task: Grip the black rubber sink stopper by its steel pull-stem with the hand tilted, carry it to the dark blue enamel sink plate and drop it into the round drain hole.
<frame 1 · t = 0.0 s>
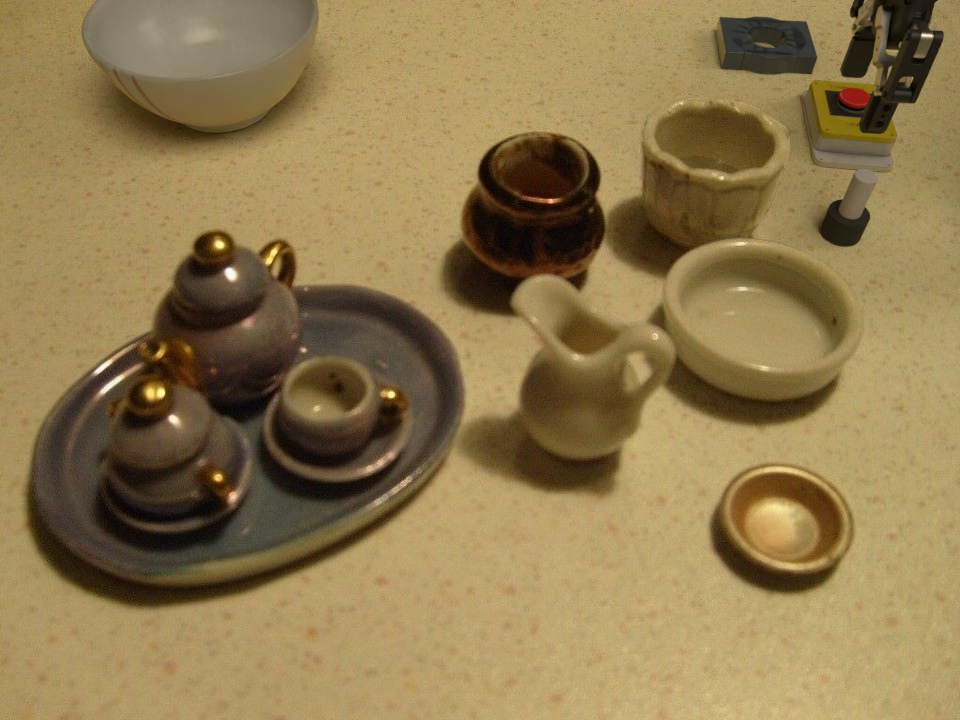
hand: (860, 102, 76), 20 cm above the counter, tool pointing down, fingers open, 8 cm apart
emergency button: (843, 132, 107), on the counter
decorative bowl: (224, 105, 109), on the counter
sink: (762, 53, 118), on the counter
stopper: (840, 233, 95), on the counter
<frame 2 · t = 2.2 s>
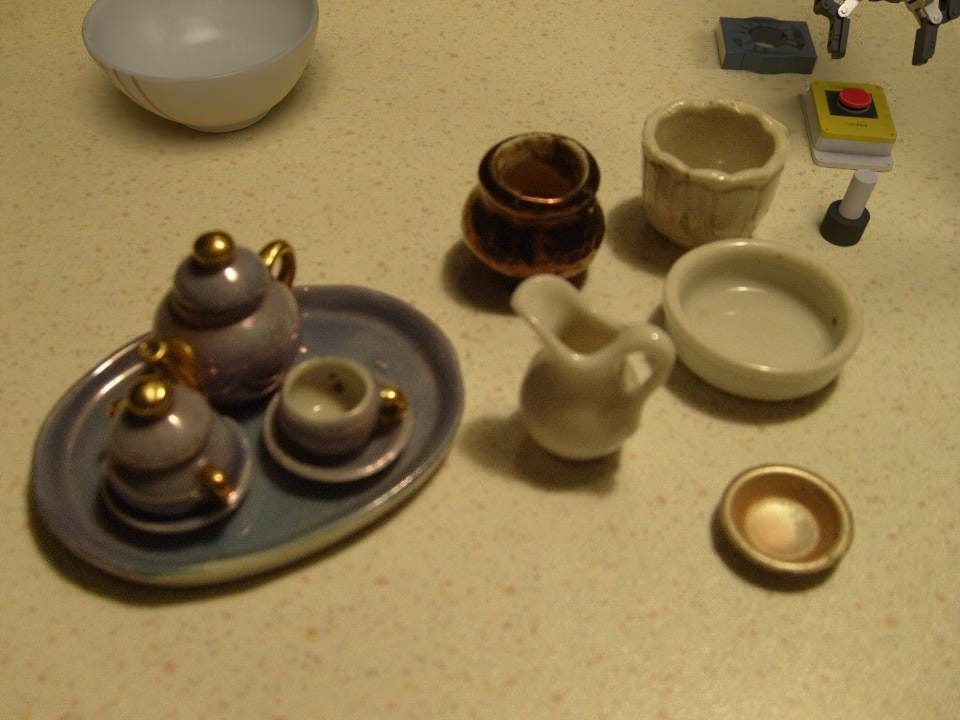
hand: (878, 61, 89), 15 cm above the counter, tool tilted 40°, fingers open, 8 cm apart
nothing on the counter moved.
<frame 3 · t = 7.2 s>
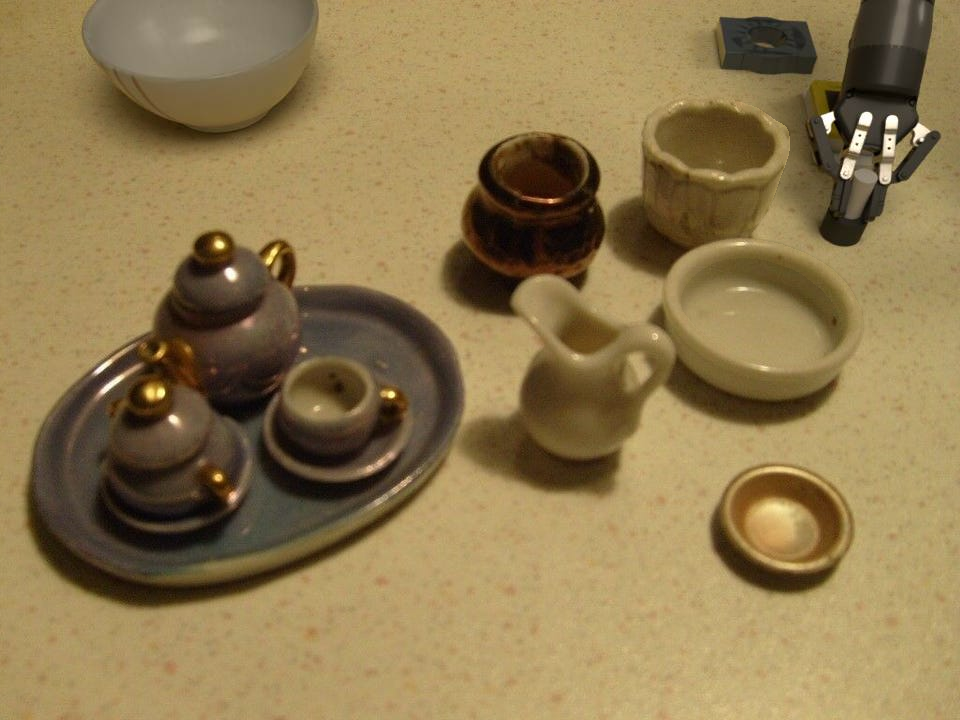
hand: (853, 218, 91), 4 cm above the counter, tool tilted 45°, fingers closed on stopper, 2 cm apart
stopper: (839, 232, 95), on the counter, touching gripper
everything else where it was.
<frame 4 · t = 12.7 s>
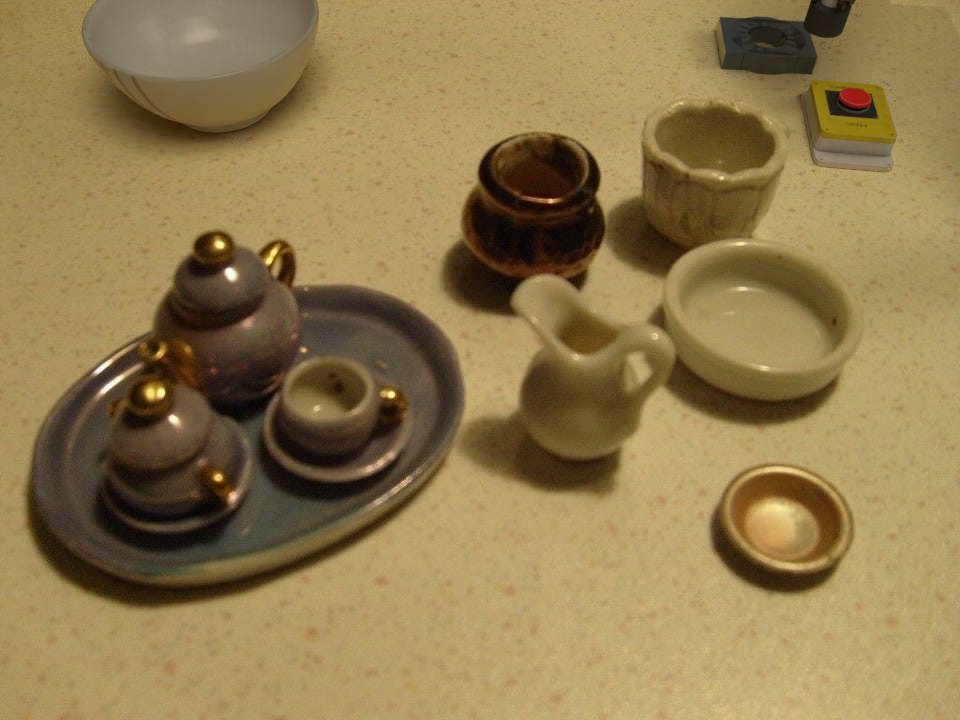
hand: (827, 2, 93), 17 cm above the counter, tool tilted 45°, fingers closed on stopper, 2 cm apart
stopper: (822, 27, 98), point 13 cm above the counter, touching gripper
everything else where it was.
when the fingers open (4 cm above the counter, at t = 18.6 s): stopper stays where it is, resting in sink.
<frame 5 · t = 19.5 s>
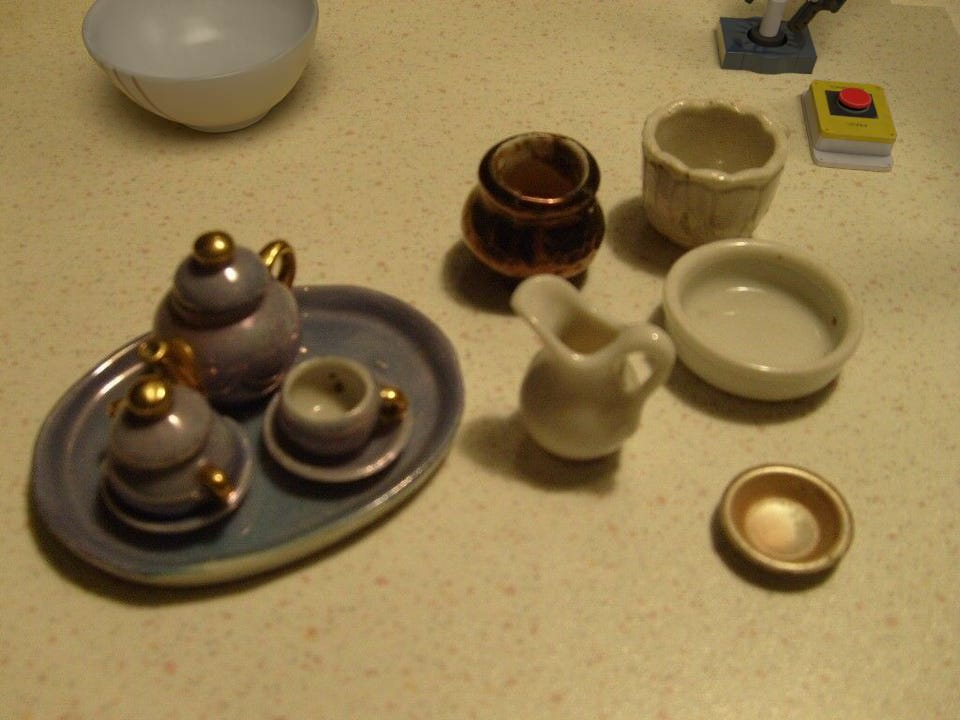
hand: (767, 14, 113), 6 cm above the counter, tool tilted 45°, fingers open, 8 cm apart
stopper: (761, 52, 118), resting in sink
everything else where it was.
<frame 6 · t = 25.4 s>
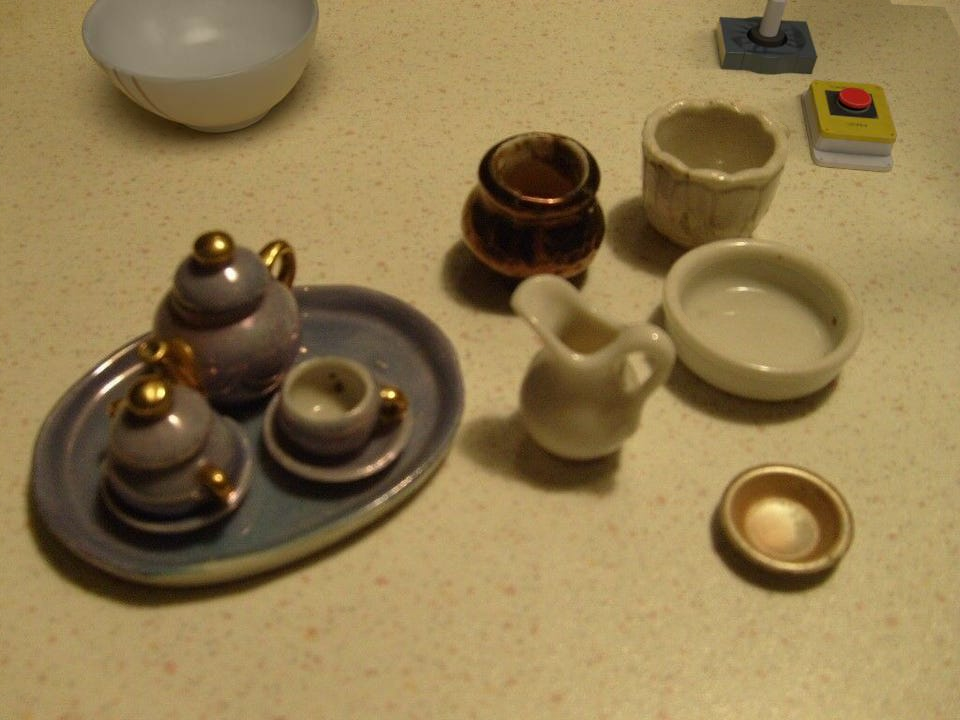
nothing on the counter moved.
at the end: stopper 0.1 cm off-centre in the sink, point 0.0 cm above the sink's base; stopper tilted 0°; the gripper is holding nothing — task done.
